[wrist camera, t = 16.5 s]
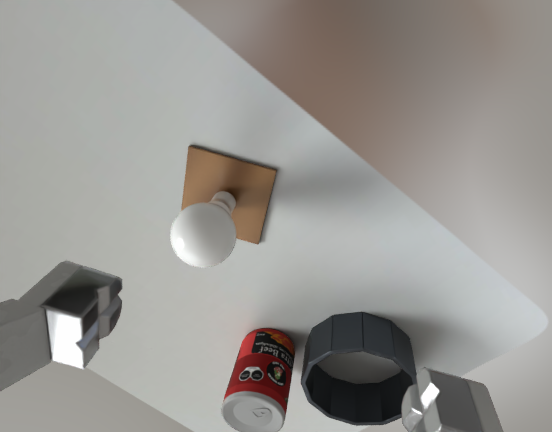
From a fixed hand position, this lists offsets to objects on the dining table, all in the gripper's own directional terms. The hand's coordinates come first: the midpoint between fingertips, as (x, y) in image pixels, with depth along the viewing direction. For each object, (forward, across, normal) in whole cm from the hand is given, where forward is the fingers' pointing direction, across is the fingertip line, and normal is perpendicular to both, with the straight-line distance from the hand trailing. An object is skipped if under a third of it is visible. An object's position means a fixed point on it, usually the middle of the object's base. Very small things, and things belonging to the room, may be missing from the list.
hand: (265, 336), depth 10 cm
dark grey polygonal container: (+31, -14, +32) cm, 47 cm away
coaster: (+31, +8, +14) cm, 35 cm away
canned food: (+31, -2, +36) cm, 48 cm away
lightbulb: (+31, +8, +14) cm, 35 cm away
